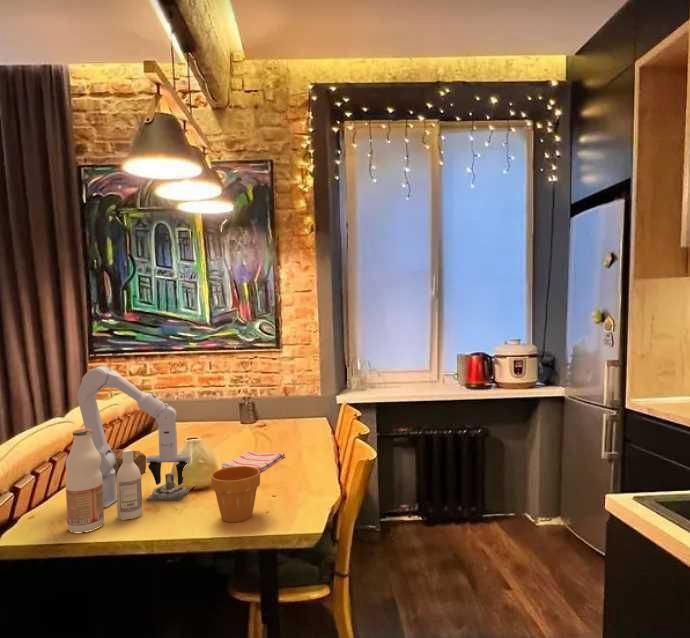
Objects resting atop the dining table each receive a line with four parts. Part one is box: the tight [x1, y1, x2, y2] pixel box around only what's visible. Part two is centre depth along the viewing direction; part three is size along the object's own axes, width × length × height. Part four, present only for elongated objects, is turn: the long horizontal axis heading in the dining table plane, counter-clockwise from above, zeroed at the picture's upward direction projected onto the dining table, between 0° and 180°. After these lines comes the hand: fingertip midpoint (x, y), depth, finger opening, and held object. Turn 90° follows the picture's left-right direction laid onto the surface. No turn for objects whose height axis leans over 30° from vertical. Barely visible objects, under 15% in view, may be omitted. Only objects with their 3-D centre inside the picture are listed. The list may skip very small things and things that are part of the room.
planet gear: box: [159, 472, 181, 494], centre depth 174 cm, size 7×7×6 cm
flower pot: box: [210, 466, 261, 523], centre depth 153 cm, size 14×14×13 cm
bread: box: [111, 448, 147, 476], centre depth 196 cm, size 19×11×10 cm, turn 85°
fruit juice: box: [65, 428, 105, 532], centre depth 148 cm, size 9×9×28 cm
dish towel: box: [221, 451, 286, 473], centre depth 207 cm, size 17×23×4 cm
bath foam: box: [116, 448, 143, 520], centre depth 155 cm, size 7×7×20 cm
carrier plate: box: [145, 483, 191, 502], centre depth 175 cm, size 15×11×4 cm
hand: (169, 483), depth 173 cm, fingers open, 7 cm apart
